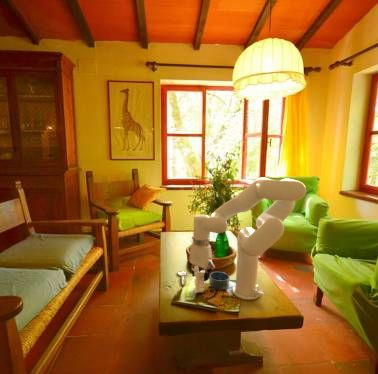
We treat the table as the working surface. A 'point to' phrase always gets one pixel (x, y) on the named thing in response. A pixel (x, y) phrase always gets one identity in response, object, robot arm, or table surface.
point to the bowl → (219, 280)
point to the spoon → (182, 276)
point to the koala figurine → (199, 279)
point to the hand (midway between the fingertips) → (200, 277)
